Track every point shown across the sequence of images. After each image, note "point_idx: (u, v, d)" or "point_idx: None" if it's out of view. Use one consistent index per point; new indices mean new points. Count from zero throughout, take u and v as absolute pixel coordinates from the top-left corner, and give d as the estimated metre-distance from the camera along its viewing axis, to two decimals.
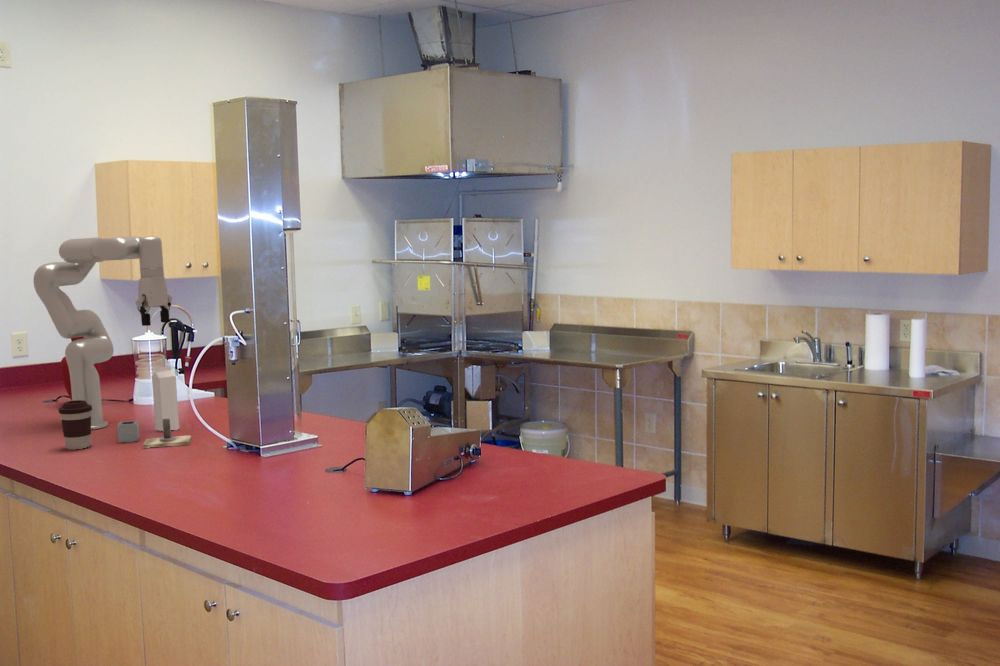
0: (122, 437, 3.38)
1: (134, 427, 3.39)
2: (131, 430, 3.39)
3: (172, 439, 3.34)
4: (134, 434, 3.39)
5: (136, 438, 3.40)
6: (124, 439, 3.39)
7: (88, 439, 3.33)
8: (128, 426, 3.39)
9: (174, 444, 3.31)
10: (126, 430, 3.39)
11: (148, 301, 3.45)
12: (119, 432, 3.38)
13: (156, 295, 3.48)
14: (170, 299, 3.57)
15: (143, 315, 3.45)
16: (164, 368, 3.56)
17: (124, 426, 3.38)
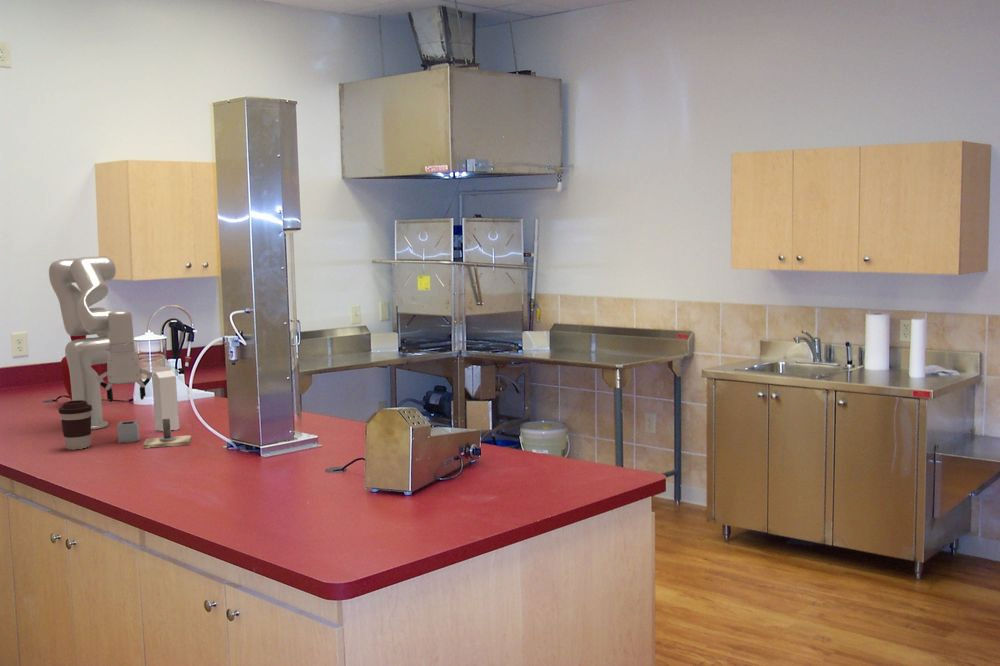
0: (122, 437, 3.38)
1: (134, 427, 3.39)
2: (131, 430, 3.39)
3: (172, 439, 3.34)
4: (134, 434, 3.39)
5: (136, 438, 3.40)
6: (124, 439, 3.39)
7: (88, 439, 3.33)
8: (128, 426, 3.39)
9: (174, 444, 3.31)
10: (126, 430, 3.39)
11: None
12: (119, 432, 3.38)
13: None
14: None
15: (144, 388, 3.41)
16: (164, 368, 3.56)
17: (124, 426, 3.38)
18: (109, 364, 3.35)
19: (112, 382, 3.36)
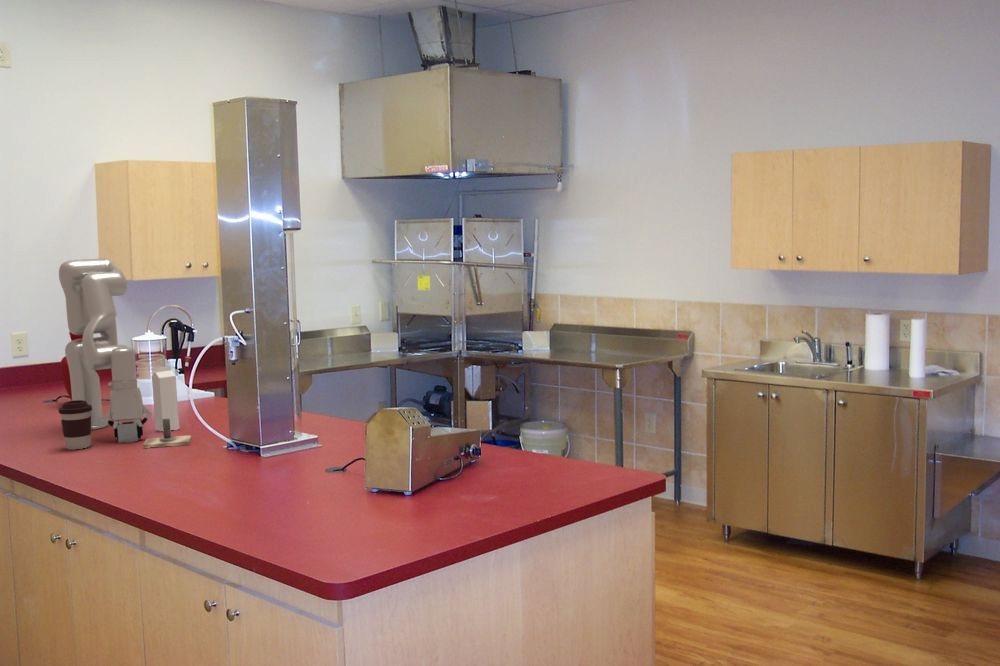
0: (122, 437, 3.38)
1: (134, 427, 3.39)
2: (131, 430, 3.39)
3: (172, 439, 3.34)
4: (134, 434, 3.39)
5: (136, 438, 3.40)
6: (124, 439, 3.39)
7: (88, 439, 3.33)
8: (128, 426, 3.39)
9: (174, 444, 3.31)
10: (126, 430, 3.39)
11: None
12: (119, 432, 3.38)
13: None
14: None
15: (142, 427, 3.42)
16: (164, 368, 3.56)
17: (124, 426, 3.38)
18: (112, 401, 3.37)
19: (114, 419, 3.38)
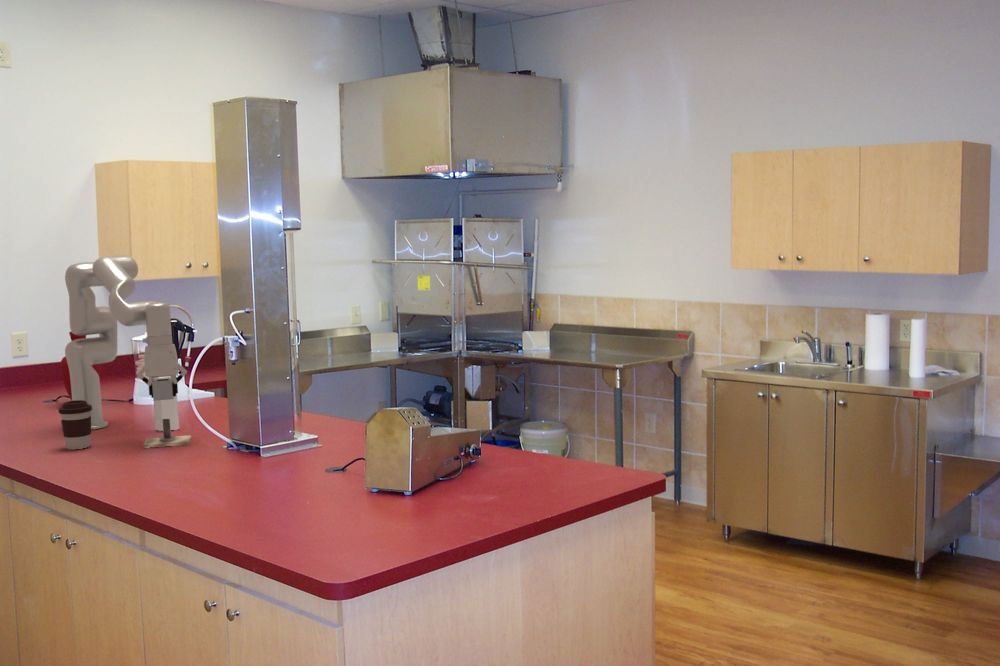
0: (157, 394, 3.30)
1: (169, 384, 3.31)
2: (166, 387, 3.30)
3: (172, 439, 3.34)
4: (169, 391, 3.31)
5: (171, 395, 3.31)
6: (159, 397, 3.30)
7: (88, 439, 3.33)
8: (163, 383, 3.30)
9: (174, 444, 3.31)
10: (161, 387, 3.30)
11: None
12: (154, 389, 3.30)
13: None
14: None
15: None
16: None
17: (159, 383, 3.30)
18: (146, 357, 3.29)
19: (149, 375, 3.29)
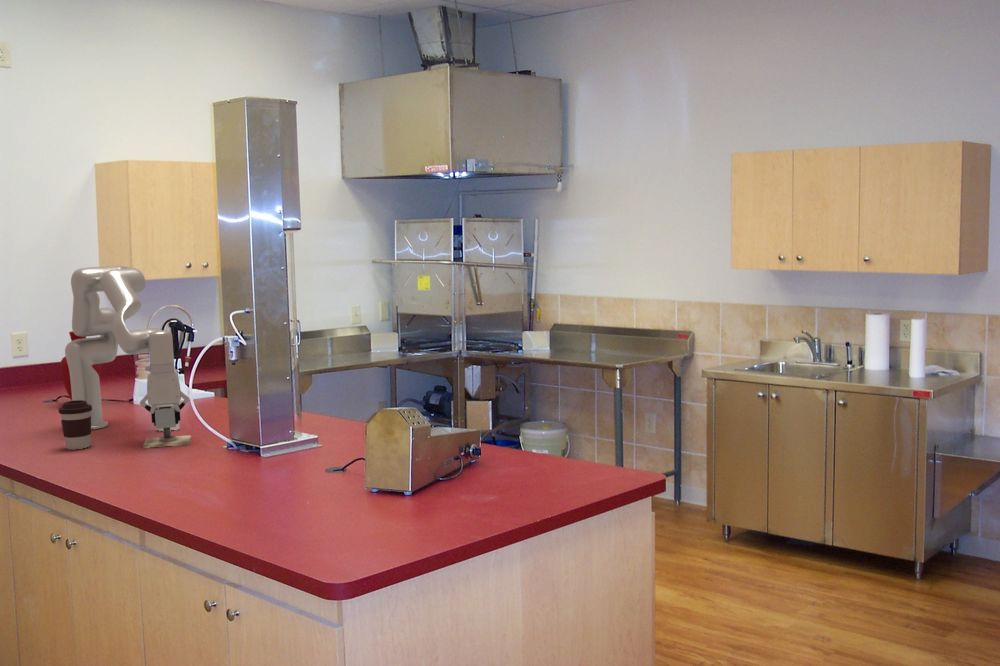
0: (160, 422, 3.31)
1: (172, 412, 3.31)
2: (169, 415, 3.31)
3: (172, 439, 3.34)
4: (172, 419, 3.32)
5: (174, 423, 3.32)
6: (161, 424, 3.31)
7: (88, 439, 3.33)
8: (165, 411, 3.31)
9: (174, 444, 3.31)
10: (164, 415, 3.31)
11: None
12: (156, 417, 3.31)
13: None
14: None
15: (179, 412, 3.35)
16: None
17: (162, 411, 3.31)
18: (149, 385, 3.30)
19: (152, 403, 3.30)
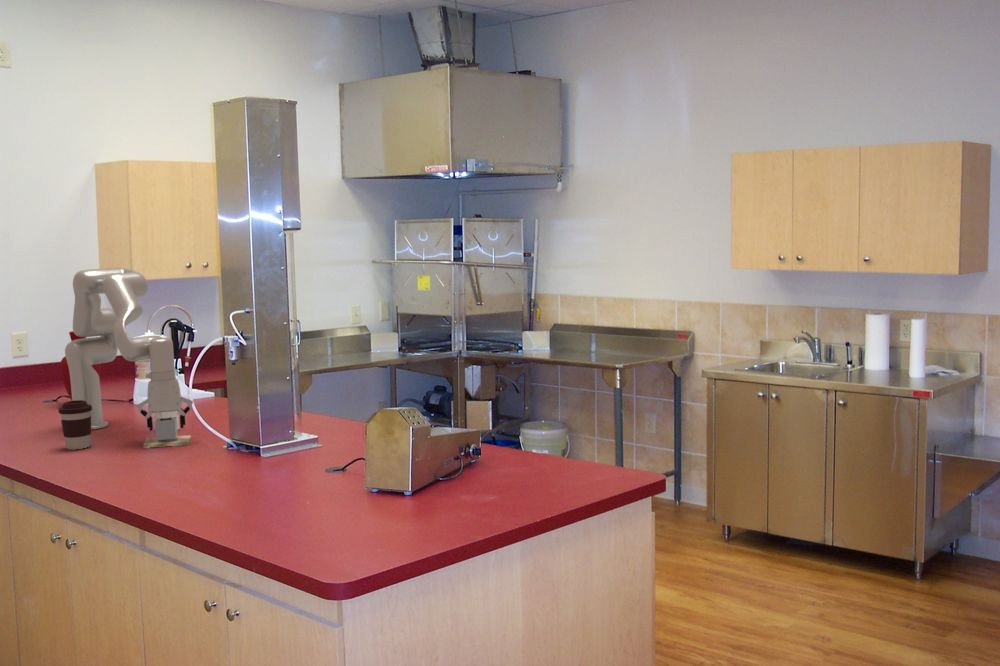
0: (160, 434, 3.32)
1: (172, 424, 3.32)
2: (169, 427, 3.32)
3: (172, 439, 3.34)
4: (172, 431, 3.32)
5: (174, 435, 3.33)
6: (162, 436, 3.32)
7: (88, 439, 3.33)
8: (166, 423, 3.32)
9: (174, 444, 3.31)
10: (164, 427, 3.32)
11: None
12: (157, 429, 3.31)
13: None
14: None
15: (184, 416, 3.35)
16: None
17: (162, 423, 3.31)
18: (150, 392, 3.30)
19: (152, 410, 3.30)
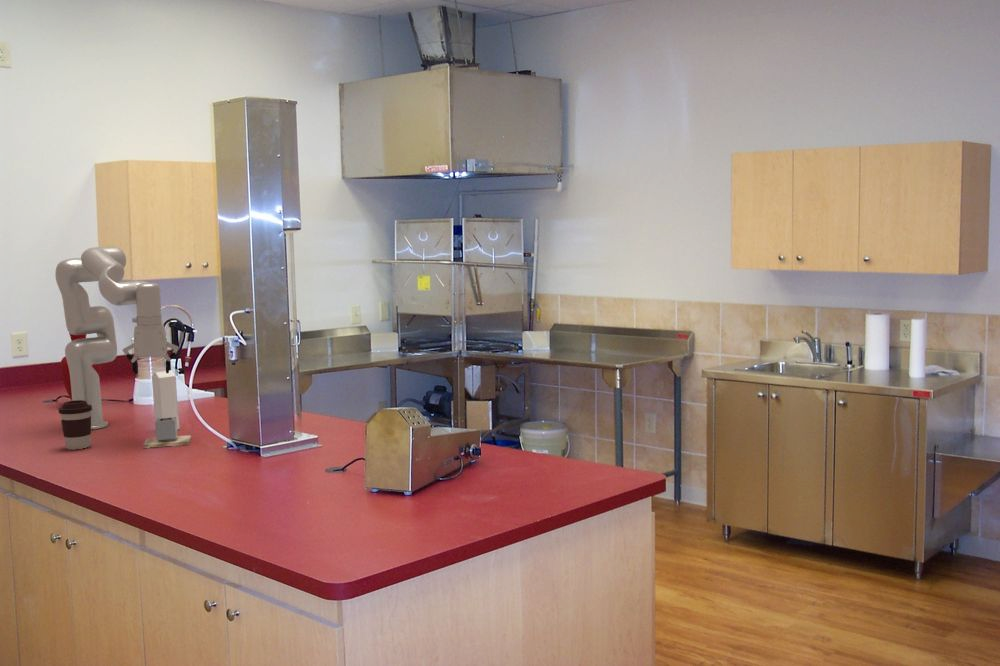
0: (160, 434, 3.32)
1: (172, 424, 3.32)
2: (169, 427, 3.32)
3: (172, 439, 3.34)
4: (172, 431, 3.32)
5: (174, 435, 3.33)
6: (162, 436, 3.32)
7: (88, 439, 3.33)
8: (166, 423, 3.32)
9: (174, 444, 3.31)
10: (164, 427, 3.32)
11: None
12: (157, 429, 3.31)
13: None
14: None
15: (170, 362, 3.38)
16: (164, 368, 3.56)
17: (162, 423, 3.31)
18: (136, 337, 3.32)
19: (138, 355, 3.33)
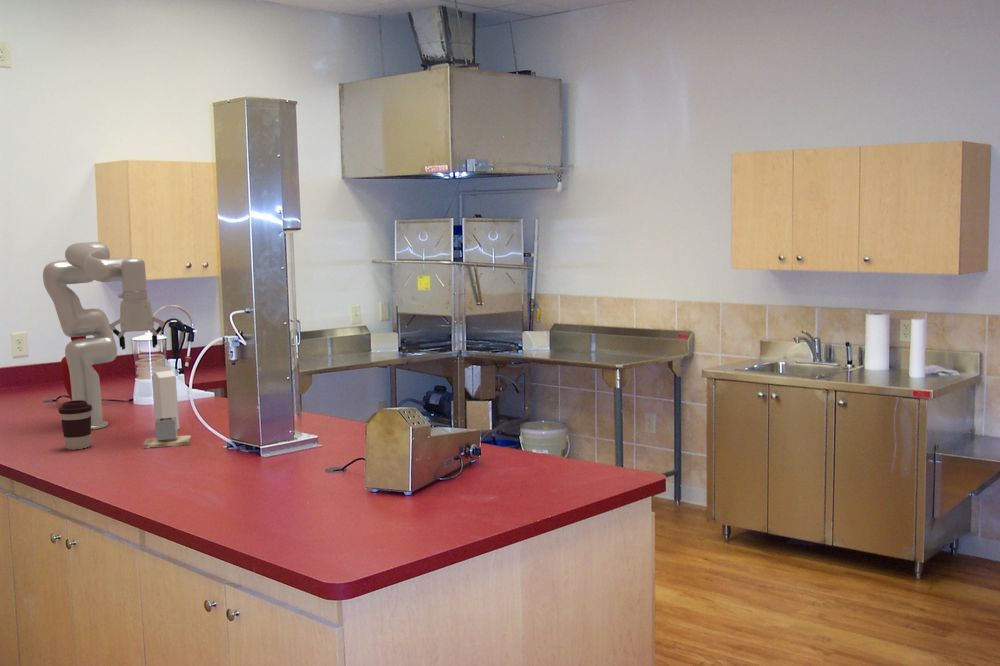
0: (160, 434, 3.32)
1: (172, 424, 3.32)
2: (169, 427, 3.32)
3: (172, 439, 3.34)
4: (172, 431, 3.32)
5: (174, 435, 3.33)
6: (162, 436, 3.32)
7: (88, 439, 3.33)
8: (166, 423, 3.32)
9: (174, 444, 3.31)
10: (164, 427, 3.32)
11: None
12: (157, 429, 3.31)
13: None
14: None
15: (156, 336, 3.42)
16: (164, 368, 3.56)
17: (162, 423, 3.31)
18: (122, 311, 3.37)
19: (125, 329, 3.37)
